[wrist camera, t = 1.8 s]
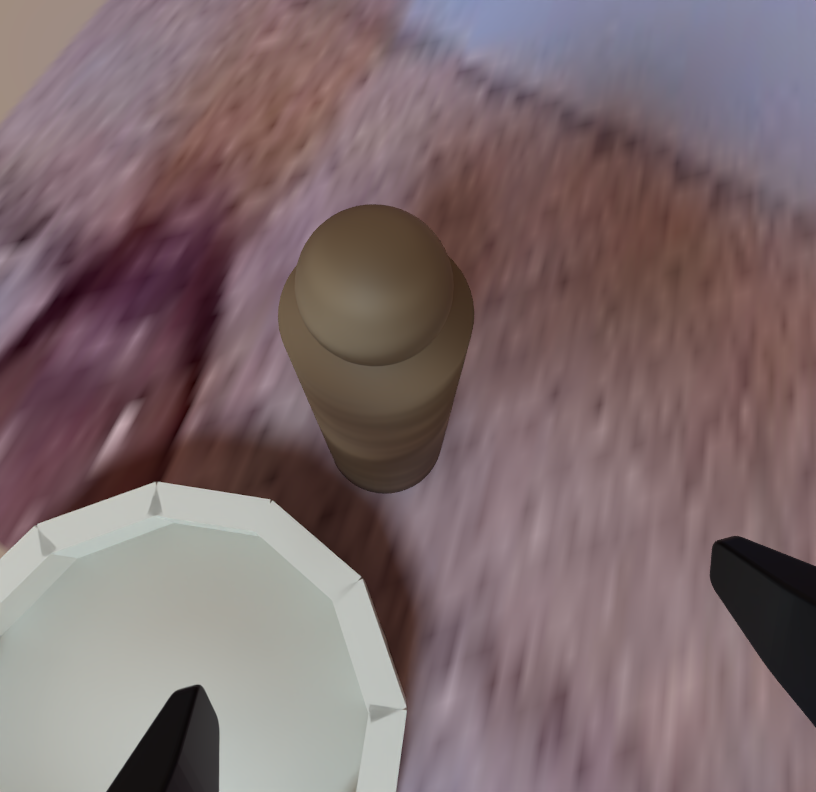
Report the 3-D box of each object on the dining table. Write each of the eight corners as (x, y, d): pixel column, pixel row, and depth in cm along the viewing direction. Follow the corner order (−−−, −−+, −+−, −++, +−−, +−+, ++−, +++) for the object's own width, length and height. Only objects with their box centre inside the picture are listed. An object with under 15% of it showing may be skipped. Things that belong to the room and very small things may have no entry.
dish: (161, 1174, 16) (115, 1285, 13) (-154, 766, 19) (-241, 791, 17) (487, 685, 21) (500, 696, 18) (186, 426, 24) (160, 403, 21)
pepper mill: (393, 516, 23) (387, 398, 10) (306, 446, 24) (197, 252, 11) (463, 430, 24) (539, 225, 11) (378, 366, 25) (358, 110, 12)
